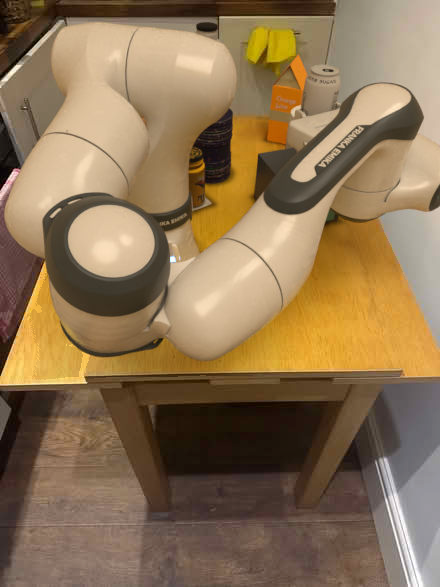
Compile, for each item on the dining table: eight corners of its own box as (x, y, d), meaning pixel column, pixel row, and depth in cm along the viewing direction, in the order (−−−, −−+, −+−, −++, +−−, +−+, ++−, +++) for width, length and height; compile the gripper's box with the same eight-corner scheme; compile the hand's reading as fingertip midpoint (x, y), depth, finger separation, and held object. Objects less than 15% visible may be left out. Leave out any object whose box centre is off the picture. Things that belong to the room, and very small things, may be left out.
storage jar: (191, 162, 105) (189, 103, 94) (229, 162, 105) (232, 103, 94) (191, 184, 98) (188, 122, 87) (231, 184, 98) (234, 123, 87)
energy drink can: (294, 143, 82) (307, 62, 71) (324, 146, 81) (342, 64, 70) (292, 158, 78) (306, 74, 67) (324, 161, 77) (344, 77, 66)
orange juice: (300, 132, 117) (314, 55, 103) (293, 145, 112) (306, 66, 97) (274, 127, 119) (283, 51, 104) (265, 140, 113) (274, 62, 99)
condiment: (212, 204, 92) (213, 155, 84) (179, 216, 89) (176, 166, 80) (195, 188, 97) (194, 140, 88) (164, 199, 93) (159, 150, 84)
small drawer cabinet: (337, 220, 89) (350, 176, 81) (279, 233, 86) (287, 188, 78) (306, 186, 98) (315, 143, 90) (253, 197, 95) (258, 153, 87)
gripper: (313, 174, 65) (265, 138, 73) (404, 146, 72) (351, 115, 80) (321, 136, 60) (268, 102, 68) (418, 110, 67) (360, 81, 75)
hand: (314, 109), depth 74 cm, fingers closed on energy drink can, 6 cm apart
